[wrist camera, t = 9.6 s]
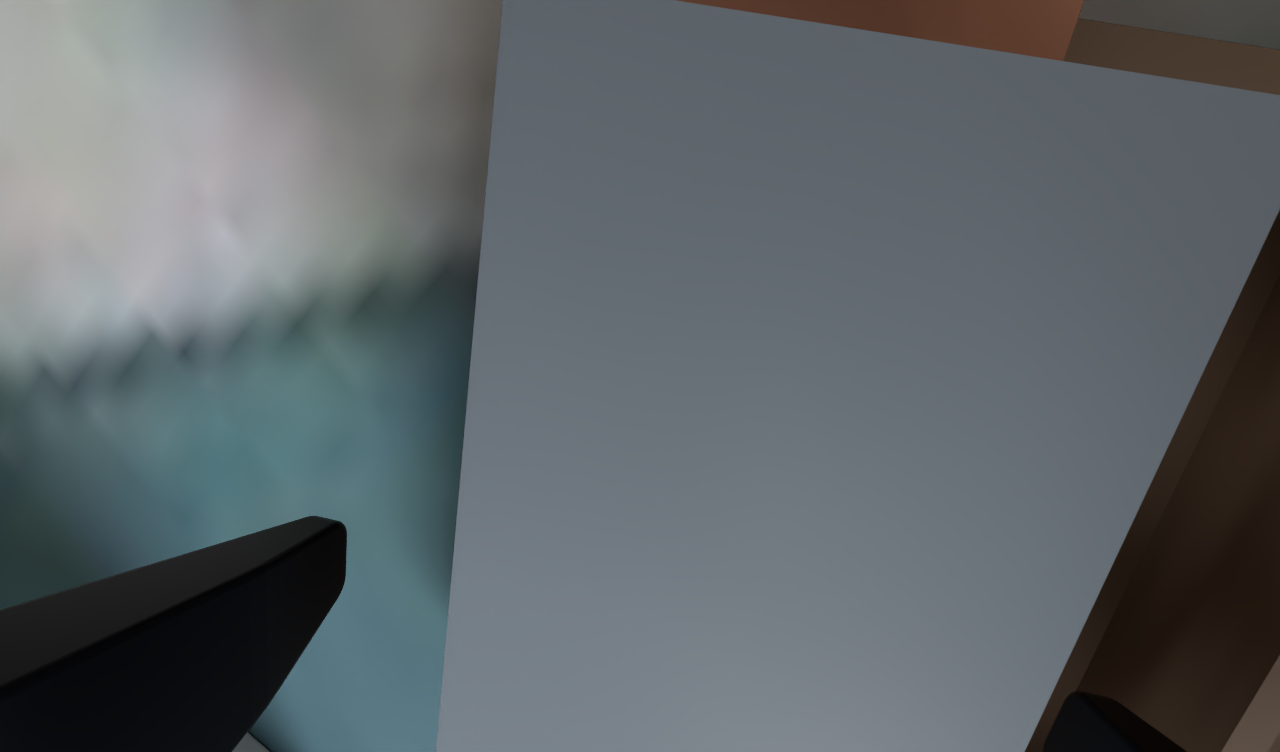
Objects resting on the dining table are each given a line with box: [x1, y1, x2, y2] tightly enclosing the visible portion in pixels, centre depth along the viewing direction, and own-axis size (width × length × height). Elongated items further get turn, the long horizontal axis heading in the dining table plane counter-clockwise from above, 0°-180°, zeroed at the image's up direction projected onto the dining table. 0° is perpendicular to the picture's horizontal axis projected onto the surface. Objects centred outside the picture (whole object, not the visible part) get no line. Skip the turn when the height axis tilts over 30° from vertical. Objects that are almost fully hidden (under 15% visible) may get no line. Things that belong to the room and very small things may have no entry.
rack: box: [676, 0, 1280, 752], centre depth 11 cm, size 16×19×4 cm
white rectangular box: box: [436, 0, 1280, 752], centre depth 9 cm, size 12×4×8 cm, turn 171°
